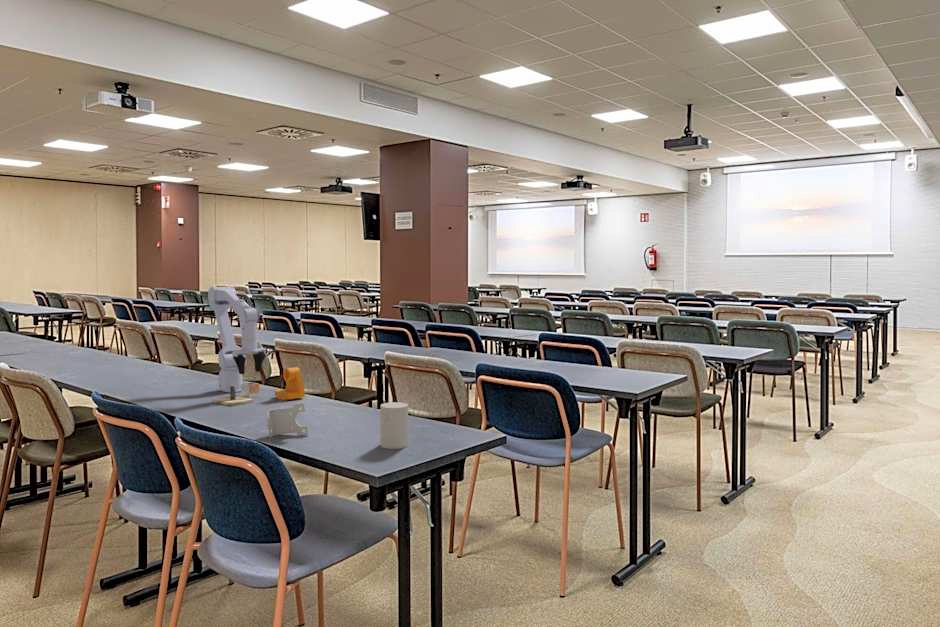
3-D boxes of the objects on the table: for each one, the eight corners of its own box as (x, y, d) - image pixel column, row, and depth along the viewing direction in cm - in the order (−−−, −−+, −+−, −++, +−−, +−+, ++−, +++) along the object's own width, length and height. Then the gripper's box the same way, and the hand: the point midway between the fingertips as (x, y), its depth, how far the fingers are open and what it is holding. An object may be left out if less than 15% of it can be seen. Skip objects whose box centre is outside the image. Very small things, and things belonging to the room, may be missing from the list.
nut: (240, 396, 277) (240, 383, 277) (251, 394, 281) (251, 382, 281) (249, 397, 275) (248, 385, 274) (259, 395, 279) (259, 383, 278)
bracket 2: (269, 440, 215) (265, 408, 214) (275, 437, 219) (271, 406, 219) (304, 437, 213) (299, 405, 213) (309, 434, 218) (304, 402, 217)
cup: (381, 441, 211) (381, 402, 210) (408, 441, 212) (408, 402, 211) (379, 448, 203) (379, 408, 202) (407, 448, 203) (407, 407, 202)
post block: (211, 402, 266) (211, 386, 266) (234, 397, 274) (234, 382, 274) (231, 406, 259) (231, 390, 259) (253, 401, 267) (253, 386, 267)
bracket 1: (274, 397, 276) (273, 367, 275) (290, 395, 282) (289, 365, 281) (288, 401, 269) (288, 370, 268) (304, 398, 274) (304, 368, 273)
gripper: (240, 341, 268) (240, 376, 269) (270, 337, 280) (271, 371, 281) (228, 339, 272) (229, 374, 273) (259, 336, 284) (259, 369, 285)
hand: (249, 372), depth 277 cm, fingers open, 7 cm apart
